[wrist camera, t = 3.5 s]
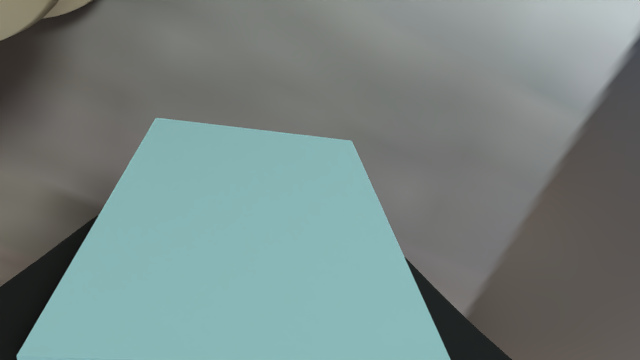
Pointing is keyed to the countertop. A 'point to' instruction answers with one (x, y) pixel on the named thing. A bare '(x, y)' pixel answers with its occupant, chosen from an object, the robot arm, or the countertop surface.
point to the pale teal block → (238, 258)
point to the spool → (31, 13)
